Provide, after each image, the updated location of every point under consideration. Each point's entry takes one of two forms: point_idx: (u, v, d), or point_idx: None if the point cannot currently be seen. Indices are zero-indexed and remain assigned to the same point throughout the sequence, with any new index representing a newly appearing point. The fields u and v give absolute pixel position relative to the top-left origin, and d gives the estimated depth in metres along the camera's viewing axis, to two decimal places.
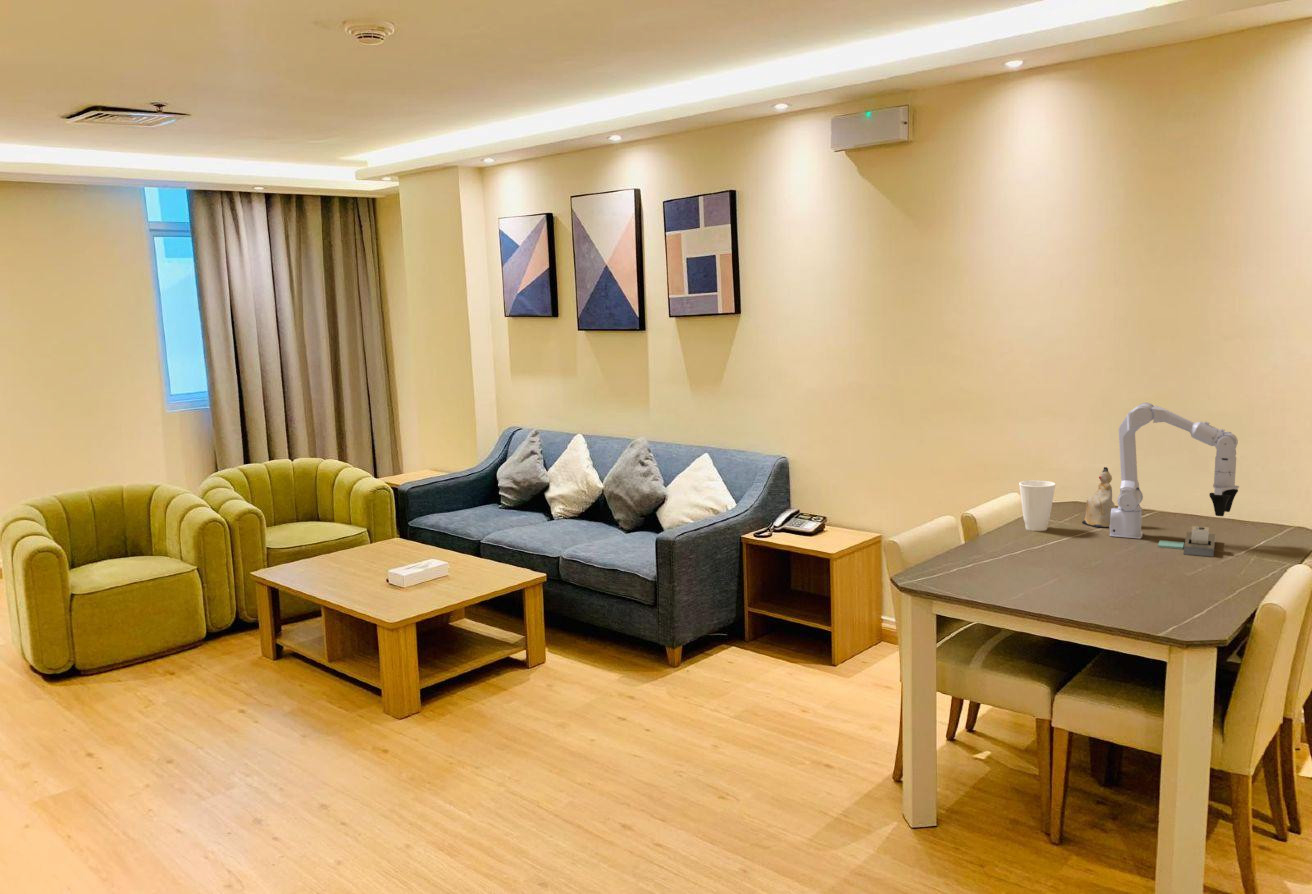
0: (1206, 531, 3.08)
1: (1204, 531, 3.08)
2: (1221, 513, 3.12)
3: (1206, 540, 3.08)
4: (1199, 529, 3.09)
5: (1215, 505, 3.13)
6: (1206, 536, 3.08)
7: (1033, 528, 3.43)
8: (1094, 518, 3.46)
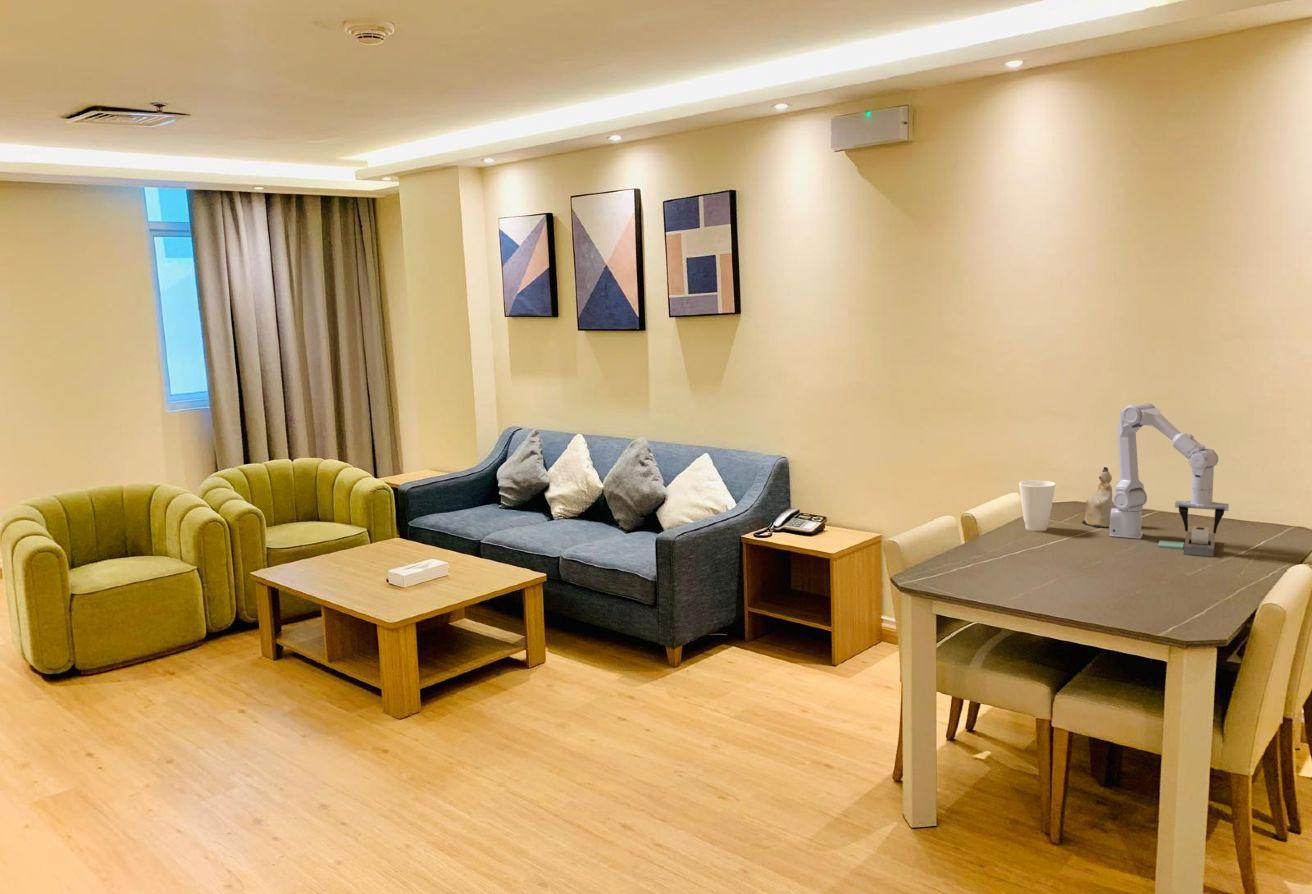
0: (1206, 531, 3.08)
1: (1204, 531, 3.08)
2: (1185, 528, 3.12)
3: (1206, 540, 3.08)
4: (1199, 529, 3.09)
5: None
6: (1206, 536, 3.08)
7: (1033, 528, 3.43)
8: (1094, 518, 3.46)
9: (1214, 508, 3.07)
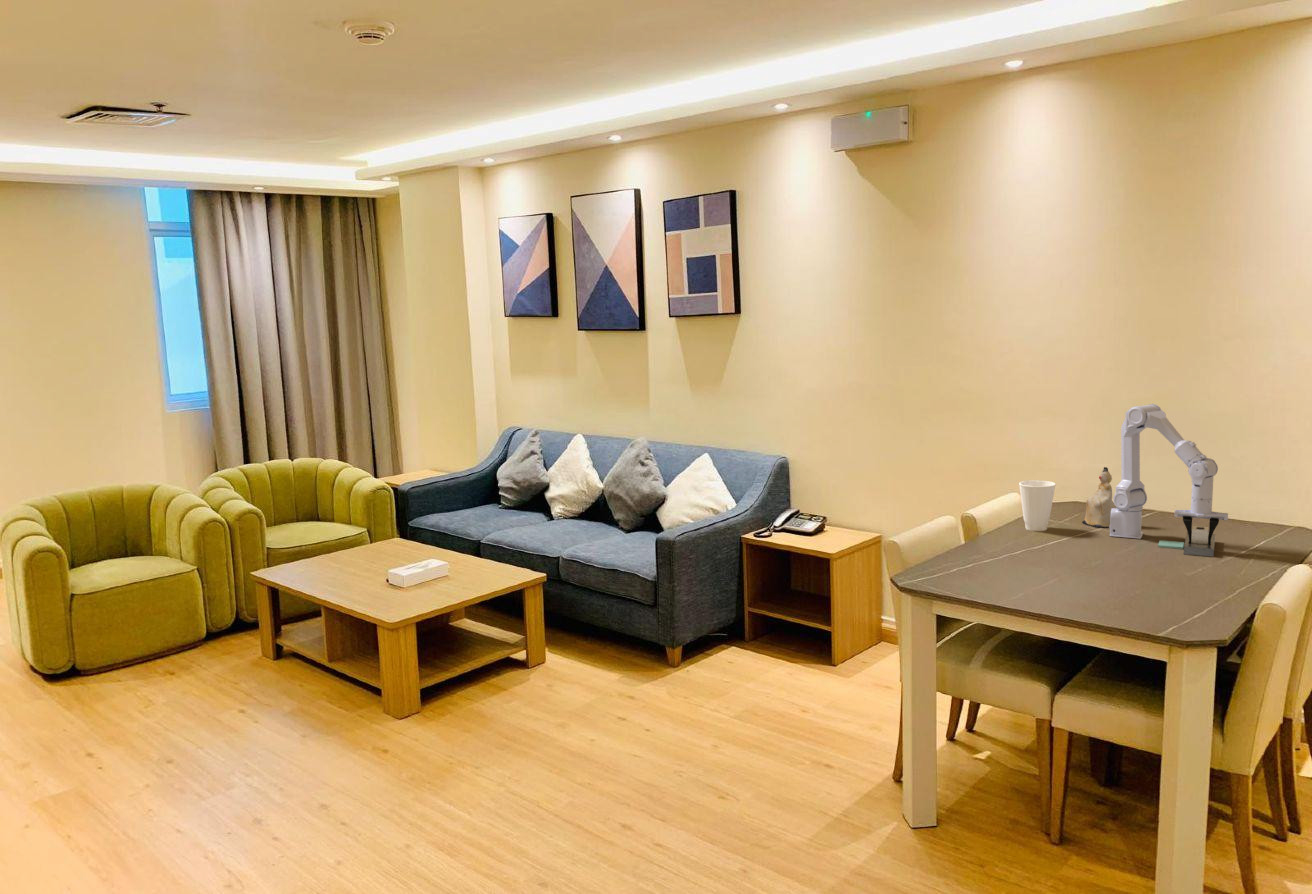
0: (1206, 531, 3.08)
1: (1204, 531, 3.08)
2: (1189, 537, 3.12)
3: (1206, 540, 3.08)
4: (1199, 529, 3.09)
5: None
6: (1206, 536, 3.08)
7: (1033, 528, 3.43)
8: (1094, 518, 3.46)
9: (1209, 517, 3.08)
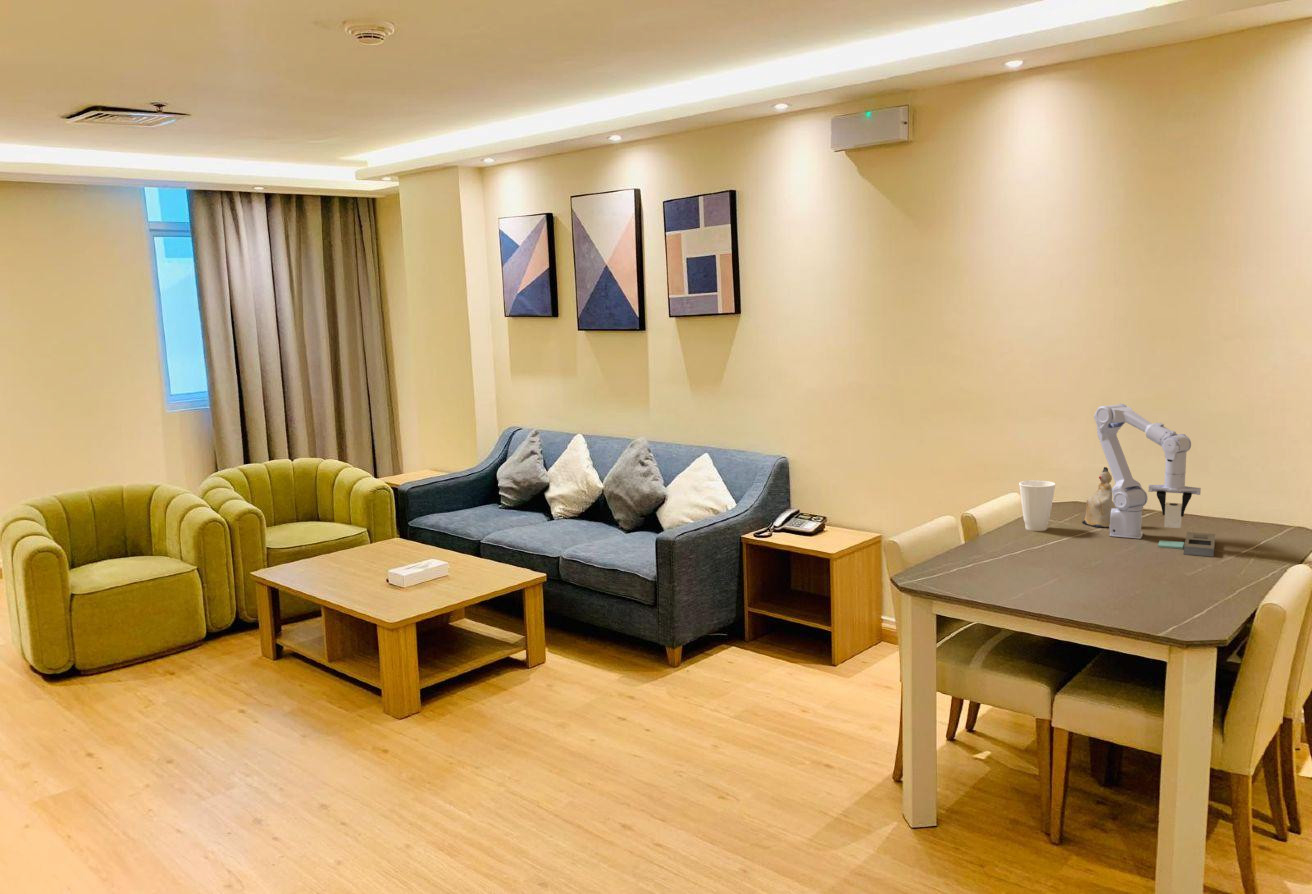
0: (1179, 507, 3.13)
1: (1177, 507, 3.13)
2: None
3: (1179, 516, 3.13)
4: (1172, 505, 3.14)
5: None
6: (1179, 512, 3.13)
7: (1033, 528, 3.43)
8: (1094, 518, 3.46)
9: (1182, 492, 3.14)
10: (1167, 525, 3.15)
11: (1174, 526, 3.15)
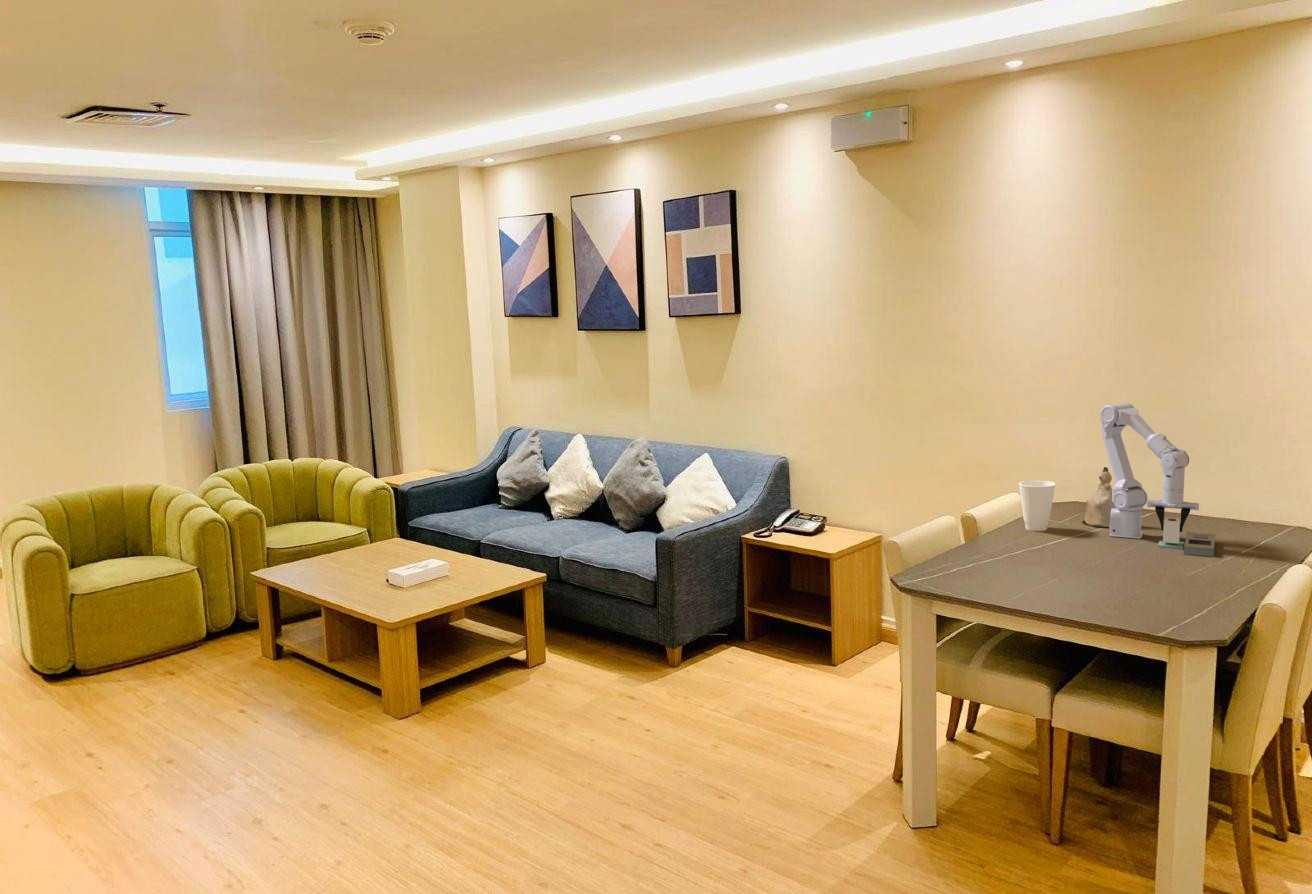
0: (1177, 522, 3.14)
1: (1176, 522, 3.14)
2: (1161, 527, 3.18)
3: (1178, 531, 3.14)
4: (1171, 520, 3.15)
5: None
6: (1177, 527, 3.14)
7: (1033, 528, 3.43)
8: (1094, 518, 3.46)
9: (1180, 507, 3.15)
10: (1166, 540, 3.16)
11: (1173, 541, 3.15)
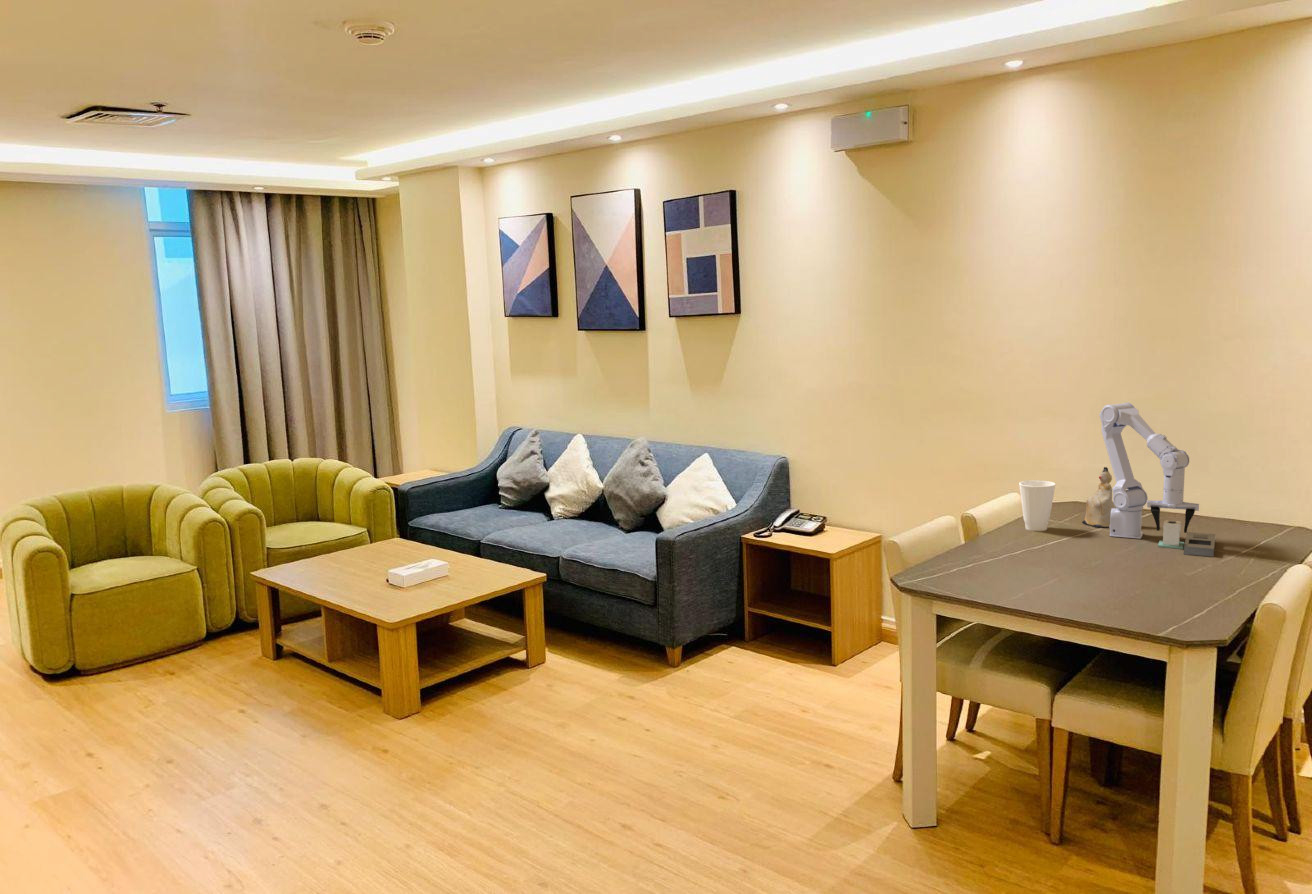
0: (1177, 525, 3.14)
1: (1175, 525, 3.14)
2: None
3: (1177, 534, 3.14)
4: (1171, 523, 3.15)
5: None
6: (1177, 530, 3.14)
7: (1033, 528, 3.43)
8: (1094, 518, 3.46)
9: (1185, 508, 3.14)
10: (1165, 543, 3.17)
11: (1172, 544, 3.16)
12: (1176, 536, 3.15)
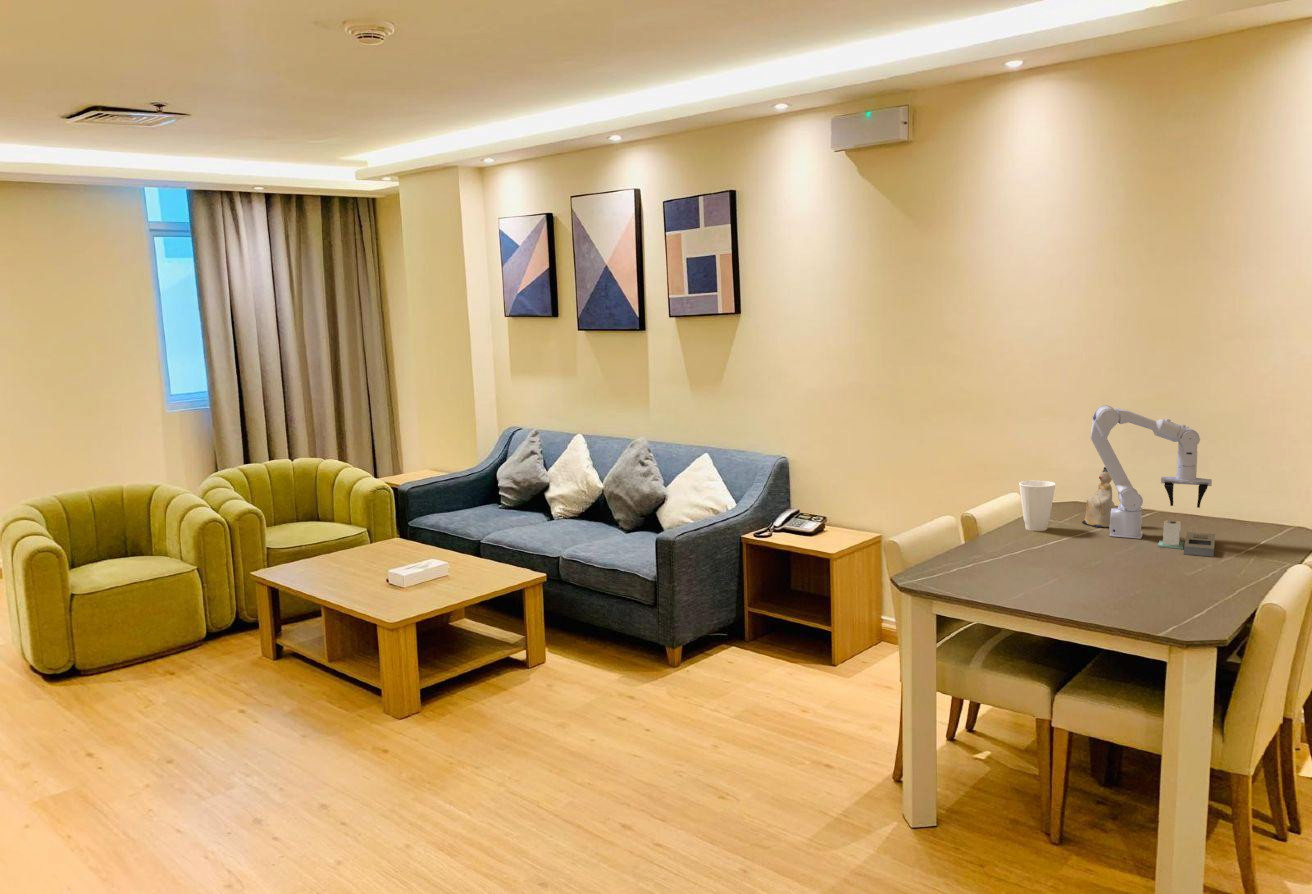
0: (1177, 525, 3.14)
1: (1175, 525, 3.14)
2: (1170, 502, 3.27)
3: (1177, 534, 3.14)
4: (1171, 523, 3.15)
5: None
6: (1177, 530, 3.14)
7: (1033, 528, 3.43)
8: (1094, 518, 3.46)
9: (1198, 483, 3.23)
10: (1165, 543, 3.17)
11: (1172, 544, 3.16)
12: (1176, 536, 3.15)
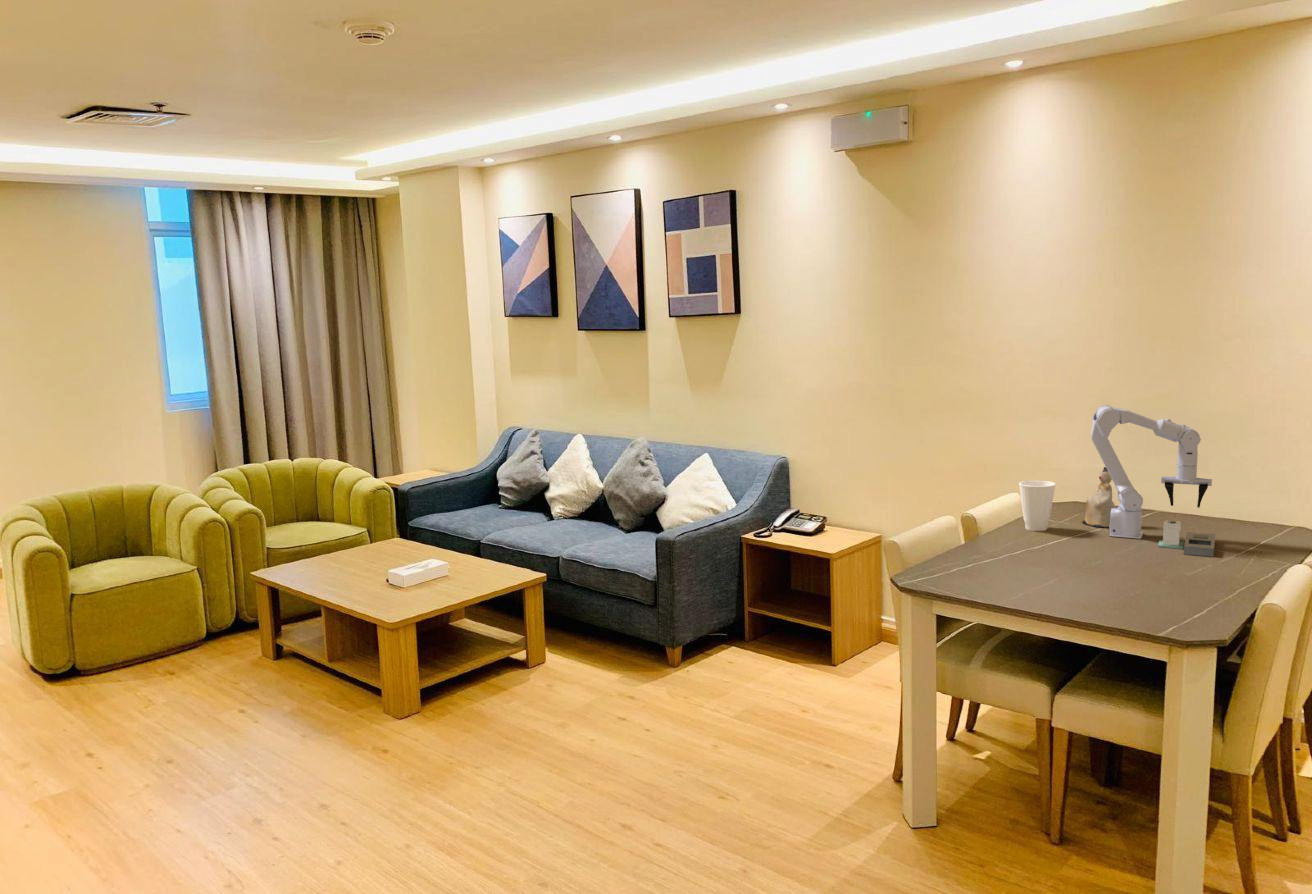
0: (1177, 525, 3.14)
1: (1175, 525, 3.14)
2: None
3: (1177, 534, 3.14)
4: (1171, 523, 3.15)
5: None
6: (1177, 530, 3.14)
7: (1033, 528, 3.43)
8: (1094, 518, 3.46)
9: (1198, 483, 3.23)
10: (1165, 543, 3.17)
11: (1172, 544, 3.16)
12: (1176, 536, 3.15)
